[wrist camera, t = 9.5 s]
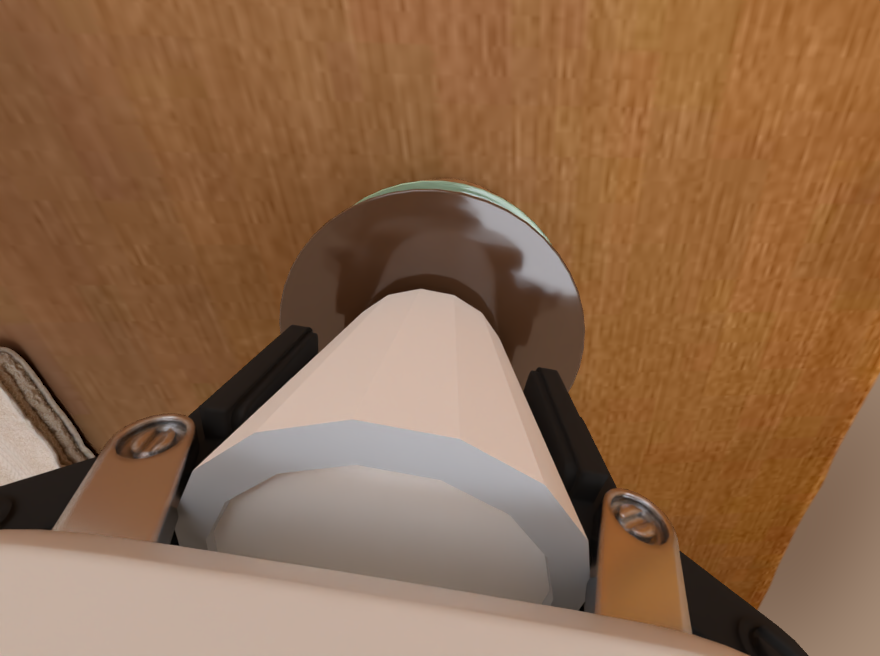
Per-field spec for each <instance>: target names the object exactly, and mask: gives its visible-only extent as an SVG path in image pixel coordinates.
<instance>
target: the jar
mask: <svg viewBox="0 0 880 656" xmlns="http://www.w3.org/2000/svg"><path fill="white" fill-rule="evenodd" d="M416 289H425V290H430V291H435V292H440V293H445V294H451V295H455V296H456V297H458V298H459V299H461V300H463V301H464V302H466V303H467V304H469V305H470V306H472V307H474V308H475V309H477V310H478V311H480V312H481V313H482V314H483V315H484V316H485V318H486V319H487V321H488V322H489V324H490V325H491V327H492V328H493V330H494V331H495V333H496V334H497V335H498V337H499V339H500V341H501V343H502V345H503V348H504V350H505V352H506V355H507V357H508V359H509V361H510V364H511V366H512V368H513V370H514V373H515V375H516V377H517V380H518V382H519V384H520V386H521V389H522V391H523V390H524V387H525V384H526V381H527V378H528V376H529V373H530V371H536V369H537V368H538V367H541V368H547V369H553V370H557V371H558V373H559V375H560V377H561V379H562V381H563V383H564V385H565V387H566V389H567V391H568V392H569V390H570V388H571V387H572V385H573V383H574V380H575V378H576V375H577V372H578V370H579V367H580V363H581V359H582V354H583V349H584V336H585V325H584V314H583V308H582V304H581V300H580V296H579V292H578V289H577V287H576V285H575V282H574V280H573V277H572V275H571V273H570V271H569V269H568V268H567V266H566V265H565V263H564V261H563V260H562V258H561V256H560V255H559V254H558V252H557V251H556V250H555V249H554V248H553V246H552V245H551V243H550V242H549V240H548V238H547V237H546V236H545V234H544V233H543V232H542V231H541V230H540V229H539V227H538V226H537V225H536V224H535V223H534V222H533V221H532V220H531V219H530V218H529V217H528V216H526V215H525V214H524V213H523V212H522V211H521V210H520V209H518V208H517V207H515V206H514V205H512V204H510V203H509V202H507V201H506V200H504V199H503V198H501V197H499V196H498V195H496V194H494V193H493V192H491V191H489V190H488V189H486V188H484V187H482V186H479V185H477V184H475V183H472V182H468V181H465V180H460V179H453V178H436V179H429V180H422V181H415V182H409V183H402V184H399V185H395V186H392V187H389V188H385V189H382V190H380V191H378V192H376V193H374V194H371V195H369V196H367V197H365V198H363V199H362V200H360V201H359V202H357V203H356V204H354V205H353V206H351V207H349V208H347V209H346V210H344V211H343V212H341V213H340V214H338V215H337V216H335V217H334V218H332V219H331V220H329V221H328V222H327V223H326V224H325V225H324V226H323V227H321V228H320V229H319V230H318V231H317V232H316V233H315V234H314V235H313V236H312V237H311V239H310V240H309V241H308V242H307V244H306V245H305V246H304V247H303V249H302V250H301V251H300V253H299V255H298V256H297V258H296V260H295V262H294V263H293V265H292V267H291V269H290V272H289V275H288V277H287V280H286V283H285V285H284V290H283V295H282V299H281V305H280V332H281V334H282V333H283V332H284V331H285V330H286V329H287V328H288V327H290V326H291V325H298V326H304V327H310V328H312V330H313V333H317V334H318V353H319V352H320V351H321V350H323V349H324V348H325V347H326V346H327V345H328V344H329V343H330V342H331V341H332V340H333V339H334V338H335V337H336V336H338V335H339V334H340V333H341V332H342V331H343V330H344V329H345V328H346V327H347V326H348V325H349V324H350V323H351V322H353V321H354V320H355V319H356V318H357V317H358V316H359V315H360V314H361V313H362V312H364V311H365V310H366V309H368V308H369V307H371V306H372V305H374V304H375V303H377V302H378V301H380V300H381V299H383V298H384V297H386V296H387V295H390V294H395V293H401V292H406V291H411V290H416Z"/></svg>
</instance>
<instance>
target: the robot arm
mask: <svg viewBox="0 0 880 656" xmlns="http://www.w3.org/2000/svg"><path fill="white" fill-rule="evenodd" d="M317 354H318V334H317V333H313V330H312V328H310V327H304V326H298V325H291V326H290V327H288V328H287V329H286V330H285V331H284V332H283V333H282V334H281V335H279V336H278V337H277V338H276V339H275V340H274V341H273V342H272V343H270V344H269V345H268V346H267V347H266V348H265V349H264V350H262V351H261V352H260V353H259V354H258V355H257V356H256V357H255V358H253V359H252V360H251V361H250V362H249V363H248V364H247V365H246V366H244V367H243V368H242V369H241V370H240V371H239V372H238V373H237V374H235V375H234V376H233V377H232V378H231V379H230V380H229V381H228V382H226V383H225V384H224V385H223V386H222V387H221V388H220V389H219V390H217V391H216V392H215V393H214V394H213V395H212V396H211V397H210V398H208V399H207V400H206V401H205V402H204V403H203V404H202V405H200V406H199V407H198V408H197V409H196V410H195V411H194V412H193V413H192V414H191V415H189V416H188V417H187V416H186V415H181V414H176V413H172V414H159V415H154V416H149V417H146V418H143V419H140V420H137V421H135V422H133V423H131V424H129V425H127V426H125V427H124V428H122V429H121V430H120V431H118V432H117V433H115V434H114V435H113V436H112V437H111V439H110V440H109V441H108V442H107V443H106V445H105V446H104V448H103V450H102V451H101V453H100V454H99V456H97V457H94V458H91V459H87V460H84V461H81V462H78V463H74V464H71V465H68V466H65V467H61V468H58V469H55V470H52V471H48V472H45V473H42V474H39V475H35V476H32V477H29V478H26V479H22V480H19V481H16V482H13V483H9V484H6V485H3V486H0V656H808V655H807V653H806V652H805V651H804V650H803V649H802V648H801V647H800V646H799V645H798V644H797V643H796V642H795V640H794V639H792V638H791V637H790V636H789V635H788V634H787V633H785V632H784V631H783V630H782V629H781V628H779V626H777V625H776V624H775V623H773V622H772V621H771V620H769V619H768V618H767V617H765V616H764V615H763V614H761V613H760V612H759V611H758V610H756V609H755V608H754V607H752V606H751V605H750V604H748V603H747V602H746V601H745V600H743V599H742V598H741V597H739V596H738V595H737V594H735V593H734V592H733V591H731V590H730V589H729V588H728V587H726V586H725V585H724V584H722V583H721V582H720V581H718V580H717V579H716V578H714V577H713V576H712V575H711V574H709V573H708V572H707V571H705V570H704V569H703V568H701V567H700V566H699V565H697V564H696V563H695V562H694V561H692V560H691V559H690V558H688V557H687V556H686V555H684V554H683V553H682V552H681V551H679V546H678V539H677V535H676V532H675V529H674V527H673V525H672V524H671V522H670V520H669V519H668V517H667V516H666V515H665V514H664V513H663V512H662V511H661V510H660V508H659V507H657V506H656V505H655V504H654V503H652V502H651V501H650V500H649V499H647V498H645V497H644V496H642V495H640V494H638V493H636V492H634V491H631V490H628V489H622V488H617V487H616V485H615V483H614V481H613V479H612V477H611V475H610V473H609V471H608V469H607V467H606V465H605V463H604V461H603V459H602V457H601V455H600V453H599V451H598V449H597V447H596V445H595V443H594V441H593V439H592V437H591V435H590V433H589V431H588V429H587V426H586V424H585V422H584V421H583V419H582V418H581V417H580V416H579V414H578V412H577V410H576V408H575V406H574V404H573V402H572V400H571V398H570V395H569V393H568V391H567V389H566V387H565V385H564V383H563V381H562V379H561V377H560V375H559V373H558V371H557V370H553V369H547V368H541V367H538V368H537V369H536V371H530V373H529V376H528V378H527V381H526V384H525V387H524V390H523V393H524V396H525V398H526V400H527V402H528V405H529V407H530V409H531V411H532V414H533V416H534V418H535V421H536V423H537V425H538V427H539V430H540V432H541V434H542V437H543V439H544V441H545V443H546V446H547V448H548V450H549V452H550V455H551V457H552V459H553V462H554V464H555V466H556V468H557V471H558V473H559V475H560V478H561V480H562V482H563V484H564V487H565V489H566V491H567V493H568V496H569V498H570V500H571V503H572V505H573V507H574V509H575V512H576V514H577V516H578V519H579V521H580V523H581V525H582V528H583V530H584V532H585V534H586V537H587V539H588V543H589V565H590V579H589V581H588V582H587V584H586V593H585V602H584V603H583V605H582V606H581V607H580V609H579V610H578V611H577V610H572V609H566V608H560V607H554V606H548V605H542V604H536V603H530V602H524V601H518V600H512V599H506V598H500V597H494V596H488V595H482V594H476V593H470V592H464V591H458V590H452V589H446V588H440V587H434V586H428V585H422V584H415V583H409V582H403V581H397V580H391V579H385V578H379V577H372V576H366V575H360V574H354V573H348V572H341V571H335V570H329V569H323V568H316V567H310V566H304V565H298V564H291V563H285V562H278V561H272V560H266V559H259V558H253V557H246V556H240V555H234V554H227V553H221V552H214V551H208V550H201V549H195V548H189V547H182V546H179V542H178V539H177V535H176V532H175V527H176V524H177V521H178V518H179V516H178V511H177V507H178V504H179V502H180V500H181V497H182V495H183V493H184V490H185V488H186V485H187V483H188V481H189V478H190V476H191V473H192V471H193V470H194V469H195V468H196V467H197V466H198V465H199V464H200V463H201V462H202V461H204V460H205V459H206V458H207V457H208V456H209V455H210V454H211V453H212V452H213V451H214V450H215V449H216V448H217V447H219V446H220V445H221V444H222V443H223V442H224V441H225V440H226V439H227V438H228V437H229V436H230V435H231V434H233V433H234V432H235V431H236V430H237V429H238V428H239V427H240V426H241V425H242V424H243V423H244V422H245V421H246V420H248V419H249V418H250V417H251V416H252V415H253V414H254V413H255V412H256V411H257V410H258V409H259V408H260V407H261V406H263V405H264V404H265V403H266V402H267V401H268V400H269V399H270V398H271V397H272V396H273V395H274V394H275V393H276V392H278V391H279V390H280V389H281V388H282V387H283V386H284V385H285V384H286V383H287V382H288V381H289V380H290V379H291V378H293V377H294V376H295V375H296V374H297V373H298V372H299V371H300V370H301V369H302V368H303V367H304V366H305V365H306V364H308V363H309V362H310V361H311V360H312V359H313V358H314V357H315V356H316V355H317Z"/></svg>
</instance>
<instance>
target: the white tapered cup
mask: <svg viewBox="0 0 880 656" xmlns="http://www.w3.org/2000/svg"><path fill="white" fill-rule="evenodd" d="M177 511H178V516H179V518H178V521H177V524H176V527H175V532H176V535H177V539H178V542H179V546H182V547H189V548H195V549H201V550H208V551H214V552H221V553H227V554H234V555H240V556H246V557H253V558H259V559H266V560H272V561H278V562H285V563H291V564H298V565H304V566H310V567H316V568H323V569H329V570H335V571H341V572H348V573H354V574H360V575H366V576H372V577H379V578H385V579H391V580H397V581H403V582H409V583H415V584H422V585H428V586H434V587H440V588H446V589H452V590H458V591H464V592H470V593H476V594H482V595H488V596H494V597H500V598H506V599H512V600H518V601H524V602H530V603H536V604H542V605H548V606H554V607H560V608H566V609H572V610H577V611H578V610H579V609H580V607H581V606H582V605H583V603H584V602H585V593H586V584H587V582H588V581H589V579H590V565H589V543H588V539H587V537H586V534H585V532H584V530H583V528H582V525H581V523H580V521H579V519H578V516H577V514H576V512H575V509H574V507H573V505H572V503H571V500H570V498H569V496H568V493H567V491H566V489H565V487H564V484H563V482H562V480H561V478H560V475H559V473H558V471H557V468H556V466H555V464H554V462H553V459H552V457H551V455H550V452H549V450H548V448H547V446H546V443H545V441H544V439H543V437H542V434H541V432H540V430H539V427H538V425H537V423H536V421H535V418H534V416H533V414H532V411H531V409H530V407H529V405H528V402H527V400H526V398H525V396H524V393H523V391H522V389H521V386H520V384H519V382H518V380H517V377H516V375H515V373H514V370H513V368H512V366H511V364H510V361H509V359H508V357H507V355H506V352H505V350H504V348H503V345H502V343H501V341H500V339H499V337H498V335H497V334H496V333H495V331H494V330H493V328H492V327H491V325H490V324H489V322H488V321H487V319H486V318H485V316H484V315H483V314H482V313H481V312H480V311H478V310H477V309H475V308H474V307H472V306H470V305H469V304H467V303H466V302H464V301H463V300H461V299H459V298H458V297H456V296H455V295H451V294H445V293H440V292H435V291H430V290H425V289H416V290H411V291H406V292H401V293H395V294H390V295H387V296H386V297H384V298H383V299H381V300H380V301H378V302H377V303H375V304H374V305H372V306H371V307H369V308H368V309H366V310H365V311H364V312H362V313H361V314H360V315H359V316H358V317H357V318H356V319H355V320H354V321H353V322H351V323H350V324H349V325H348V326H347V327H346V328H345V329H344V330H343V331H342V332H341V333H340V334H339V335H338V336H336V337H335V338H334V339H333V340H332V341H331V342H330V343H329V344H328V345H327V346H326V347H325V348H324V349H323V350H321V351H320V352H319V353H318V354H317V355H316V356H315V357H314V358H313V359H312V360H311V361H310V362H309V363H308V364H306V365H305V366H304V367H303V368H302V369H301V370H300V371H299V372H298V373H297V374H296V375H295V376H294V377H293V378H291V379H290V380H289V381H288V382H287V383H286V384H285V385H284V386H283V387H282V388H281V389H280V390H279V391H278V392H276V393H275V394H274V395H273V396H272V397H271V398H270V399H269V400H268V401H267V402H266V403H265V404H264V405H263V406H261V407H260V408H259V409H258V410H257V411H256V412H255V413H254V414H253V415H252V416H251V417H250V418H249V419H248V420H246V421H245V422H244V423H243V424H242V425H241V426H240V427H239V428H238V429H237V430H236V431H235V432H234V433H233V434H231V435H230V436H229V437H228V438H227V439H226V440H225V441H224V442H223V443H222V444H221V445H220V446H219V447H217V448H216V449H215V450H214V451H213V452H212V453H211V454H210V455H209V456H208V457H207V458H206V459H205V460H204V461H202V462H201V463H200V464H199V465H198V466H197V467H196V468H195V469H194V470H193V471H192V473H191V476H190V478H189V481H188V483H187V485H186V488H185V490H184V493H183V495H182V497H181V500H180V502H179V504H178V507H177Z"/></svg>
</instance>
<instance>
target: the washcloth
mask: <svg viewBox="0 0 880 656" xmlns="http://www.w3.org/2000/svg"><path fill="white" fill-rule="evenodd" d="M94 457H95V455H94V454H93V453H92V452H91V451H90V449H88V448H87V447H85V445H84V443H83V441H82V439H81V437H80V435H79V433H78V432H77V430H76V429H75V427H74V426H73V424H72V422H71V421H70V420H69V418H68V417H67V416H66V414H65V413H64V412H63V411H62V410H61V409H60V407H59V406H58V405H57V403H56V402H55V401H54V400H53V398H52V396H51V395H50V393H49V391H48V390H47V389H46V388H45V386H44V385H43V384H42V382H41V380H40V379H39V377H38V376H37V375H36V374H35V372H34V371H33V370H32V369H31V367H30V366H29V365H28V364H27V362H26V361H25V360H24V359H23V358H22V357H21V356H20V355H18V354H17V353H16V352H15V351H13V350H11V349H9V348H7V347H1V346H0V486H3V485H6V484H9V483H13V482H16V481H19V480H22V479H26V478H29V477H32V476H35V475H39V474H42V473H45V472H48V471H52V470H55V469H58V468H61V467H65V466H68V465H71V464H74V463H78V462H81V461H84V460H87V459H91V458H94Z"/></svg>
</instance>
